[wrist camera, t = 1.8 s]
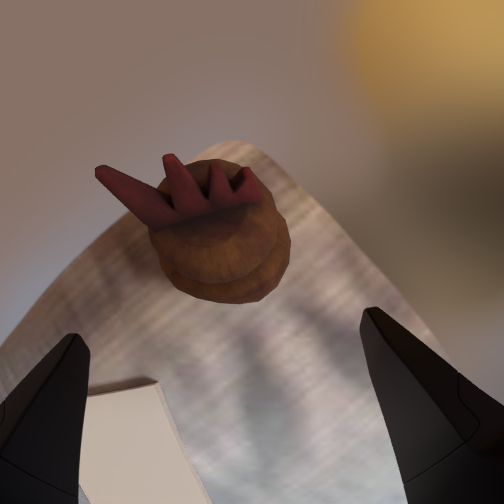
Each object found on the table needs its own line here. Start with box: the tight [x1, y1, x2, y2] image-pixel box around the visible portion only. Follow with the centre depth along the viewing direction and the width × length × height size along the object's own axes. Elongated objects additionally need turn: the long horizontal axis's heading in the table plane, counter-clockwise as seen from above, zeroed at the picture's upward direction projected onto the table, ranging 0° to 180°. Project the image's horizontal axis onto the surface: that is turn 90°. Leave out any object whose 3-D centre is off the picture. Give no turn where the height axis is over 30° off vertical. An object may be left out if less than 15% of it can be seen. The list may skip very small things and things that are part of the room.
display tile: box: [79, 382, 212, 504], centre depth 17 cm, size 11×11×1 cm
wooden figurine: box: [95, 154, 291, 304], centre depth 13 cm, size 7×6×15 cm
